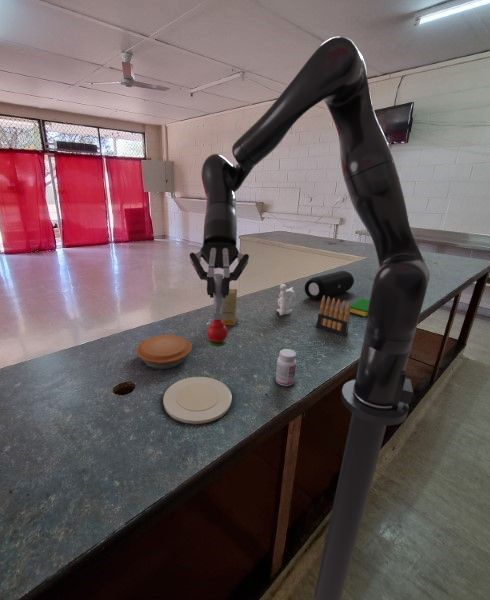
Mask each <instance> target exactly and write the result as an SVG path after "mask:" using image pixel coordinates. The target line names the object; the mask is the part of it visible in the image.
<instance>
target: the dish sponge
mask: <svg viewBox="0 0 490 600" xmlns="http://www.w3.org/2000/svg"><path fill="white" fill-rule="evenodd" d="M369 302H370V299H367V298H362V297H361V298H359V299H358V300H357V301H355V302H354V303H351V304H350V313H352V314H355V315H359V316H362V317H367V313H368V307H369Z"/></svg>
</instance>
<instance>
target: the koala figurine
mask: <svg viewBox="0 0 490 600" xmlns="http://www.w3.org/2000/svg"><path fill="white" fill-rule="evenodd" d="M279 290H280V292H279V294H278V296H279V298H277V305H278V306H279V308H277V309H276V311H277V312H278V314H279V316H283V315H290V314H291V313H292V312H293V309H290V307H291V306H292V300H293V299H295V298H296V297H297V295H296V292H295V290H294V287H293V286H291V287H289V288H287V284H284V283H281V284H280V286H279Z"/></svg>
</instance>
